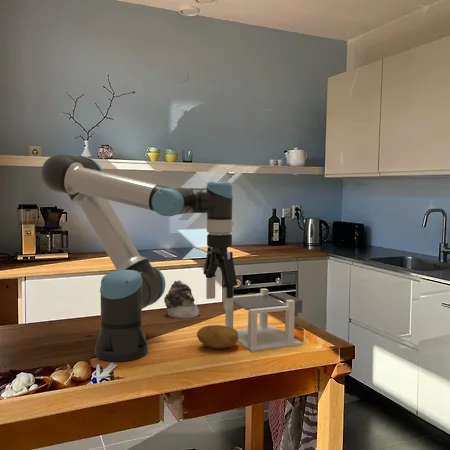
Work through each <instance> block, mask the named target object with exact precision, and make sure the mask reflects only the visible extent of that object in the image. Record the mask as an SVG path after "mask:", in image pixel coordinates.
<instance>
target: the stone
mask: <svg viewBox="0 0 450 450" xmlns="http://www.w3.org/2000/svg"><path fill="white" fill-rule="evenodd" d="M163 300H164V301H163V302H164V304H165V305H164V306H165V307H166V309H167V311H166V313H167V315H168V317H171V318H175V319H194V318H197V317H198V315H200V309H199V308H198V305H197V304H196V303H195V302H196V301H195V298H194V295H193V293H192V289H191V287H190V286H189V285H188V284H187V283H184V282H183V281H182V280H180V279H179V280H174V282H173V283H172V284H171V286H170V288H169V290H168V293H166V295H165V297H164V299H163ZM193 317H194V318H193Z"/></svg>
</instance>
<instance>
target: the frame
mask: <svg viewBox="0 0 450 450" xmlns="http://www.w3.org/2000/svg"><path fill="white" fill-rule="evenodd" d="M259 290H260V293H255V294H244V295H233V298H244V297H255V296H265V295H266V294H267V295H269V289H267V288H260V289H259ZM234 304H235V303H233V309H225V313H224V314H225V316H224V317H225V318H224V319H225V321H224V322H225V324H224V326H227V327H232V328H233V329H235V328H234V306H235V305H234ZM285 310H286V313H285V319H284V321H285V322H284V324H285V325H284V331H282V330H281V329H279V328H277V327H276V326H274V325H272V324H270V325H268V319H269V316H268V314H269V313H273V312H274V313H275V312H283V311H285ZM258 314H259V326H258ZM295 314H296V313H295V301H293V300H286V306H278V307H268V308H258V309H249V310H248V315H247V316H248V317H247V327H244V328H236V329H235V330H236V331H237V332H238V338H239V339H238V341H237V342H236V343H239V344H240V345H242V347H244V348H245V349H247V350H248V351H249V352H251V353H252V352H253V353H254V352H260V351H267V350H273V349H280V348H286V347H287V348H288V347H295V346H301V345H303V344H304V342H302V341H300V340H298V339H297V338H295V316H296V315H295Z"/></svg>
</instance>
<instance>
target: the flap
mask: <svg viewBox="0 0 450 450" xmlns="http://www.w3.org/2000/svg"><path fill="white" fill-rule="evenodd" d="M269 294H270V295H269ZM269 294H268V295H267V294H266V295H265V296H255V297H244V298H233V303H234V304H235V305H237V306H238V307H240V308H242V309H244V310H245V311H249V309H258V308H268V307H278V306H286V300H293V301H295V314H302V313H303V300H302V299H301V298H298V297H295V296H292V295H291V294H288V293H286V292H272V293H271V292H270V293H269ZM282 312H284V313H285V314H286V310H285V311H282Z"/></svg>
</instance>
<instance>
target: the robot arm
mask: <svg viewBox="0 0 450 450" xmlns="http://www.w3.org/2000/svg"><path fill="white" fill-rule="evenodd" d="M40 172H41V173H40V175H41V179H42V183H43V184H44V185H45V186H46V188H48V189H49V190H50V191H53V192H56V193H64V194H67V195H68V197H69V198H70V200H71V202H72V203H73V204H74V205H77V206H80V208H81V210H82V212H83V214H84V215H85V217H86V219H87V220H88V222H89V224H90V226H91V227H92V229H93V231H94V232H95V234H96V236H97V238H98V239H99V242H100V243H101V245H102V246H103V248H104V250H105V252H106V254H107V256H108V258H109V259H110V261H111V263H112V264H113V266H114V268H115V270H114V271H110V272H108V273H106V274H105V275H103V276H102V278H101V280H100V287H99V292H100V330H99V332H98V335H97V339H96V342H95V344H94V345H95V346H94V356H95V357H96V358H97V359H100V360H103V361H106V362H107V361H108V362H127V361H132V360H138V359H140V358H142V357H144V356H146V355H147V354H148V347H149V346H148V341H147V337H146V335H145V332H144V329H143V326H142V325H143V323H142V322H143V321H142V319H143V318H142V316H143V314H142V313H143V312H142V311H143V309H145V308H147V307H149V306H151V305H153V304H155V303H157V301H158V300H159V299H161V298H162V296H163V295H164V293H165V291H166V290H165V289H166V279H165V276H164V274H163V272H162V271H161V270H160V269H158V268H157V267H155V266H152V265H151V263H150V261H149V259H148V258H147V257H146V256H145V257H144V256H141V255H140V253H139V251H138V250H137V248H136V247H135V244H134V243H133V241H132V239H131V237H130V236H129V233H128V232H127V231H126V229H125V227H124V225H123V224H122V222H121V220H120V218H119V216H118V215H117V213H116V211H115V210H114V208H113V206H112V204H111V203H110V201H111V202H115V203H120V204H124V205H128V206H132V207H137V208H140V209H145V210H150V211H153V212H156V213H157V214H158V215H159V216H163V217H173V216H177V215H183V214H184V215H185V214H206V232H207V234H206V246H207V251H206V257H205V261H204V262H205V263H204V268H203V273H202V274H203V275H205V278H206V285H205V286H206V287H205V288H206V292H205V293H206V294H205V295H206V299H207V300H211V299H216V277H217V275H216V272H217V270H218V268H219V269H220V272H221V275H222V280H223V282H224V284H223V286H222V287H223V310H226V309H233V296H234V287H235V286H237V285H238V280H237V275H236V269H235V264H234V263H235V262H234V260H233V259H234V257H233V252H232V251H228V248H231V247H232V246H233V235H232V234H231V233H232V232H233V225H234V222H233V198H234V197H233V186H232V183H231V182H229V181H208V182H207V183H206V187H202V188H198V187H197V188H193V187H176V188H175V187H169V186H165V185H161V184H155V183H151V182H147V181H143V180H138V179H135V178H130V177H126V176H122V175H117V174H113V173H109V172H104V171H103V169H102V166H101V165H100V164H99V163H98V162H97V161H96V160H95V159H93V158H90V157H87V156H84V155H78V156H76V155H69V154H68V155H67V154H56V155H52V156H50V157H48V158H47V159H46V160H45V162H44V163H43V164H42V166H41V170H40Z"/></svg>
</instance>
